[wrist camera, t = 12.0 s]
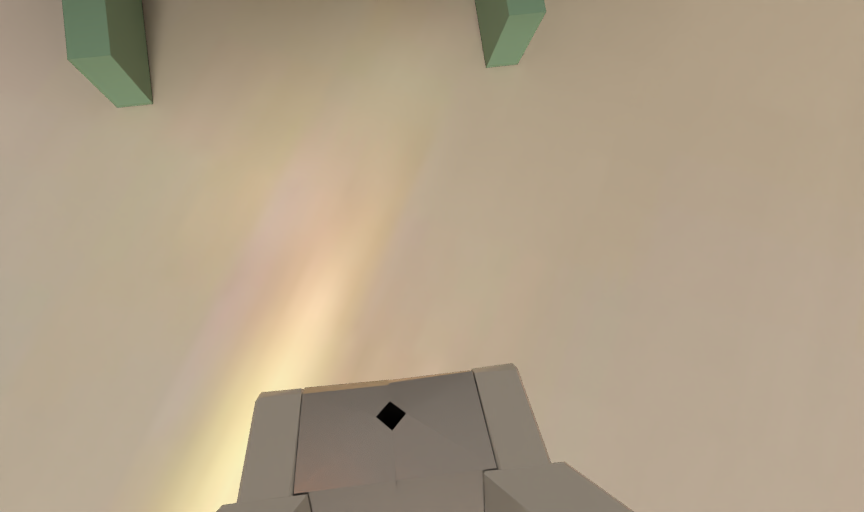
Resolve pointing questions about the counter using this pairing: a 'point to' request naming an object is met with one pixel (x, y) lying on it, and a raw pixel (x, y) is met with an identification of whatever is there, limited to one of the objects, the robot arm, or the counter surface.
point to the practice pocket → (128, 60)
